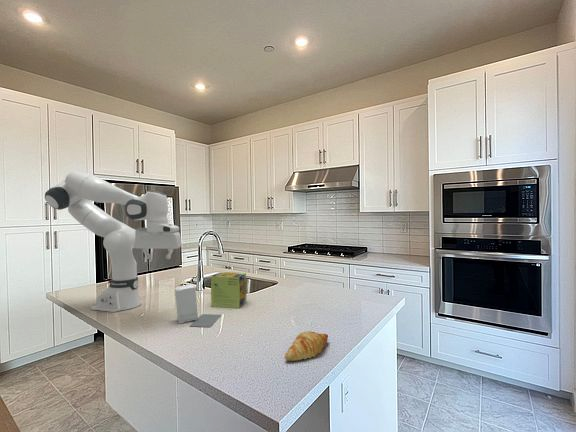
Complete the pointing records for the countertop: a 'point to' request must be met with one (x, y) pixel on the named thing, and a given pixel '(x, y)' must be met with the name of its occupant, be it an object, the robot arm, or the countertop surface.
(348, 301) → the countertop surface
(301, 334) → the croissant
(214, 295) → the protein box
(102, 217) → the robot arm
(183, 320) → the skincare box
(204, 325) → the mat
